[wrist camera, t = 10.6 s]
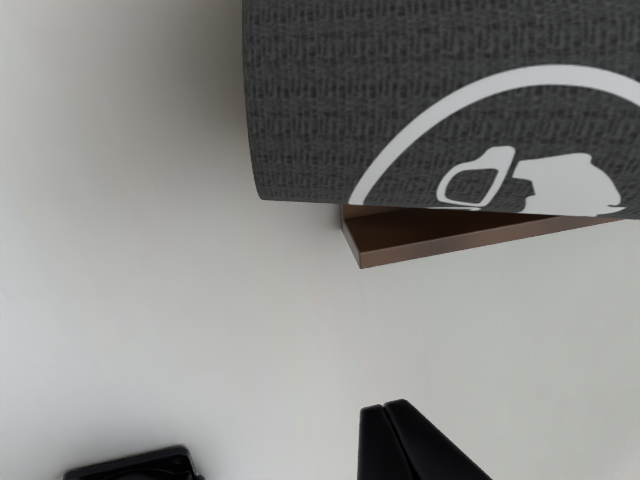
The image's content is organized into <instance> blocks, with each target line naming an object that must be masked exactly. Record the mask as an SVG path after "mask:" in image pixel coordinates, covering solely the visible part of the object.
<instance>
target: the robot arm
mask: <svg viewBox="0 0 640 480" xmlns="http://www.w3.org/2000/svg"><path fill="white" fill-rule="evenodd" d="M62 480H205V478H204V477H203V476H201V475H197V472H196V469H195V467H194V464H193V461H192V458H191V456H190V453H189V451H188V450H187V449H185V448H175V449H171V450H166V451H162V452H157V453H153V454H148V455H144V456H139V457H135V458H130V459H126V460H121V461H117V462H112V463H108V464H103V465H99V466H94V467H90V468H85V469H81V470H76V471H72V472H68V473H66V474H65V475H64V476H63V479H62ZM357 480H492V479H491V478H490V477H489V476H488V475H487V474H486V473H485V472H484V471H483V470H482V469H481V468H479V467H478V466H477V465H476V464H475V463H474V462H473V461H472V460H471V459H470V458H469V457H468V456H467V455H465V454H464V453H463V452H462V451H461V450H460V449H459V448H458V447H457V446H456V445H455V444H454V443H452V442H451V441H450V440H449V439H448V438H447V437H446V436H445V435H444V434H443V433H442V432H441V431H440V430H438V429H437V428H436V427H435V426H434V425H433V424H432V423H431V422H430V421H429V420H428V419H427V418H425V417H424V416H423V415H422V414H421V413H420V412H419V411H418V410H417V409H416V408H415V407H414V406H413V405H411V404H410V403H409V402H408V401H407V400H405V399H399V400H395V401H390V402H386V403H385V404H384V405H383V406H382V405H380V404H377V405H373V406H369V407H365V408H362V409H361V411H360V424H359V448H358V471H357Z"/></svg>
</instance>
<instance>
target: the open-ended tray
mask: <svg viewBox="0 0 640 480" xmlns="http://www.w3.org/2000/svg"><path fill="white" fill-rule="evenodd" d="M340 208H341V221H342V231H343V234H344V235H345V237H346V240H347V242H348V244H349V246H350V248H351V250H352V253H353V255H354V257H355V259H356V261H357V263H358V266H359V268H360V269H364V268H369V267H374V266H380V265H385V264H390V263H396V262H401V261H406V260H411V259H417V258H422V257H427V256H433V255H438V254H443V253H449V252H454V251H459V250H465V249H470V248H475V247H480V246H486V245H491V244H496V243H502V242H507V241H512V240H518V239H523V238H528V237H534V236H539V235H544V234H549V233H555V232H560V231H565V230H571V229H576V228H581V227H587V226H592V225H597V224H602V223H608V222H613V221H618V220H624V219H618V218H601V217H583V216H566V215H547V214H529V213H510V212H491V211H471V210H452V209H433V208H413V207H393V206H374V205H354V204H340Z"/></svg>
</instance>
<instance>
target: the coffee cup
mask: <svg viewBox="0 0 640 480" xmlns="http://www.w3.org/2000/svg"><path fill="white" fill-rule="evenodd" d="M242 52H243V75H244V91H245V105H246V117H247V128H248V138H249V147H250V155H251V162H252V168H253V174H254V180H255V184H256V188H257V192H258V195H259V197H260V198H261V199H262V200H275V201H294V202H314V203H334V204H354V205H374V206H393V207H413V208H433V209H452V210H471V211H491V212H510V213H529V214H547V215H566V216H583V217H601V218H618V219H634V220H640V0H242Z"/></svg>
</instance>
